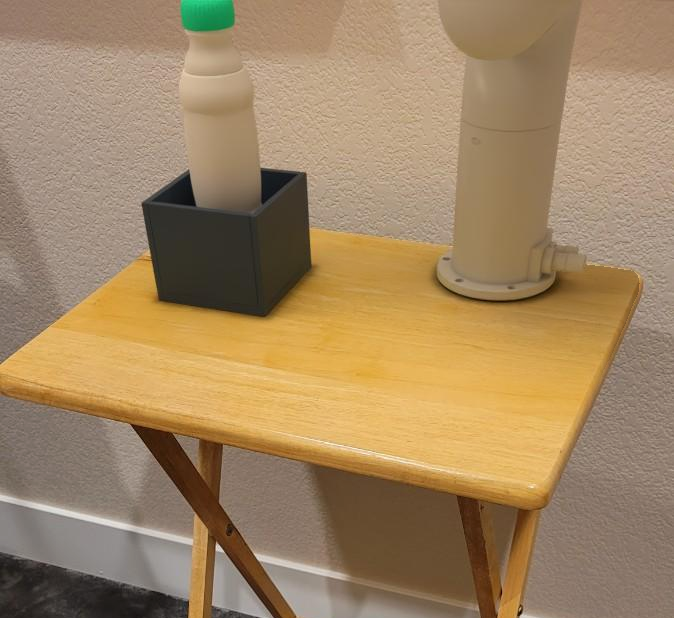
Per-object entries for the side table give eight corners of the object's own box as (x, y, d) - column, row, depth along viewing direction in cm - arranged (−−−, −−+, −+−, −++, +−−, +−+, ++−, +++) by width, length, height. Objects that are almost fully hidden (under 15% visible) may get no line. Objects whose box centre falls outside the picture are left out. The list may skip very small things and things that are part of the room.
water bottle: (259, 290, 91) (233, 5, 74) (195, 286, 93) (153, 4, 75) (276, 262, 96) (255, -12, 79) (215, 258, 98) (180, -13, 80)
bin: (311, 267, 98) (306, 172, 91) (265, 317, 89) (256, 216, 82) (212, 253, 101) (199, 161, 94) (158, 300, 93) (140, 202, 86)
